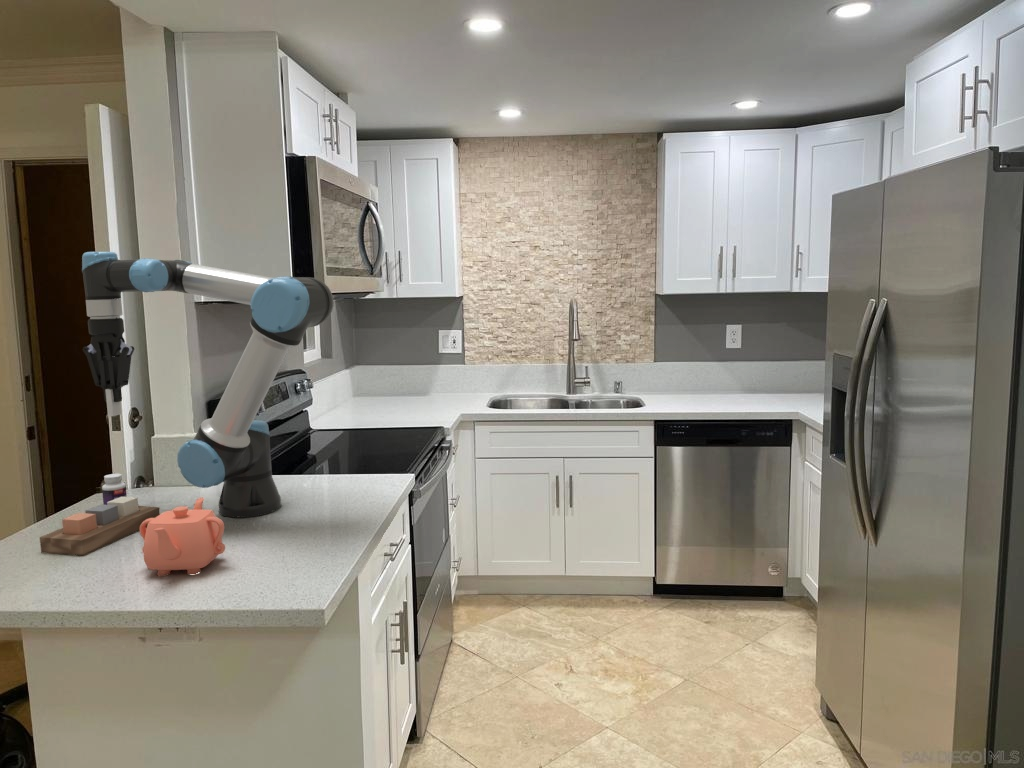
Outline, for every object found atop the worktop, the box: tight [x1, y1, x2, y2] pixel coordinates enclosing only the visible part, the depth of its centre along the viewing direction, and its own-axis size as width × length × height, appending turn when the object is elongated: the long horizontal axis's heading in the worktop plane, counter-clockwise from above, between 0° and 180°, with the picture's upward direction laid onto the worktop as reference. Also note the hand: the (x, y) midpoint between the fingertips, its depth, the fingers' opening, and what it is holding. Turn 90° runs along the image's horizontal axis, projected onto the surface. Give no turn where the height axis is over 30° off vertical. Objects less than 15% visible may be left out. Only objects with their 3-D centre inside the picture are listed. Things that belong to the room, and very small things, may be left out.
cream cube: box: [107, 496, 139, 517], centre depth 181 cm, size 5×5×5 cm
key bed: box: [39, 505, 161, 557], centre depth 175 cm, size 11×24×4 cm, turn 166°
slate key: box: [84, 504, 119, 526], centre depth 175 cm, size 5×5×5 cm
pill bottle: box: [101, 473, 128, 505], centre depth 193 cm, size 5×5×10 cm
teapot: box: [139, 497, 226, 577], centre depth 154 cm, size 15×17×13 cm
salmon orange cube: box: [61, 512, 97, 535], centre depth 168 cm, size 5×5×5 cm
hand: (114, 415), depth 183 cm, fingers closed
